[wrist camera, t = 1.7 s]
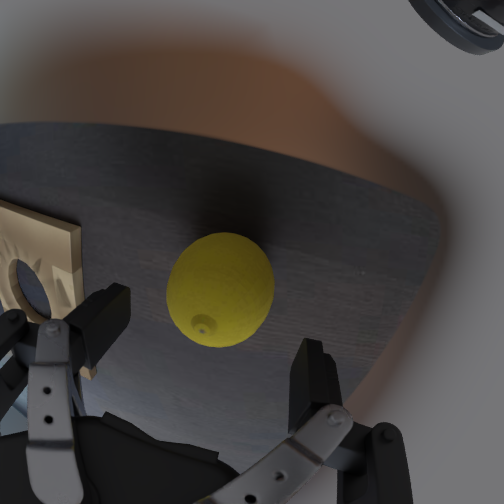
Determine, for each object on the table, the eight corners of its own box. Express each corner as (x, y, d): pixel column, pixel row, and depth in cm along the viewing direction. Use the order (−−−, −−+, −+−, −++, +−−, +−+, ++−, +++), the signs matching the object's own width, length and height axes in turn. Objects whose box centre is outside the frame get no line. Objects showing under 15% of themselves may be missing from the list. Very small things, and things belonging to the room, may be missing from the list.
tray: (-6, 197, 19) (-15, 200, 18) (81, 226, 19) (69, 232, 17) (15, 322, 26) (9, 327, 25) (97, 372, 26) (91, 381, 24)
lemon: (193, 286, 19) (146, 359, 12) (199, 211, 17) (138, 256, 10) (268, 301, 19) (257, 387, 12) (284, 226, 17) (282, 286, 10)
